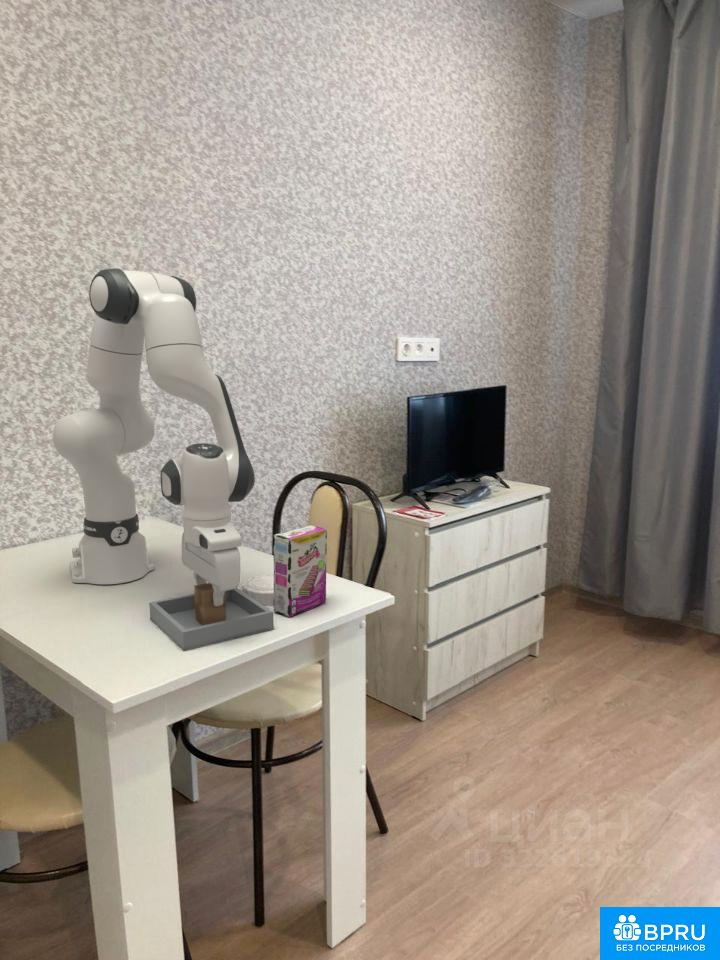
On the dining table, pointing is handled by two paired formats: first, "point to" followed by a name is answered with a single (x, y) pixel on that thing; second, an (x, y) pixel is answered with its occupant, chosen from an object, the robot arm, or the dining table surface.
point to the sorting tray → (190, 634)
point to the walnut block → (208, 605)
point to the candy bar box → (299, 570)
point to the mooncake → (260, 589)
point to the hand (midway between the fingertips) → (210, 599)
